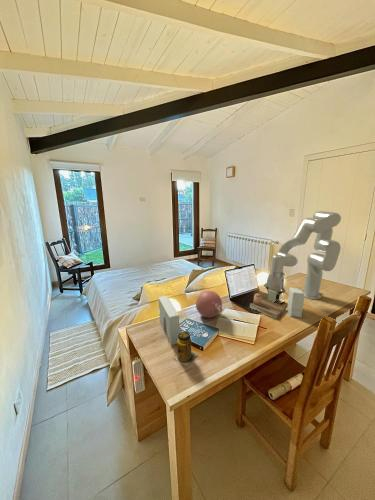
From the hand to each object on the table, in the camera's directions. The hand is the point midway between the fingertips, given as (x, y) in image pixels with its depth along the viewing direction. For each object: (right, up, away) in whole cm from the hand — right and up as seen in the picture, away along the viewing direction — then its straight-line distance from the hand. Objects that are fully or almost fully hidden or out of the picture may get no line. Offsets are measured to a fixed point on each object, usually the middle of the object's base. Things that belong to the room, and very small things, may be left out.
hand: (273, 297), depth 145 cm
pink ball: (-45, -7, -20) cm, 50 cm away
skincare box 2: (+6, -6, -15) cm, 18 cm away
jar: (-14, -2, -9) cm, 17 cm away
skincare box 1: (-69, -11, -33) cm, 77 cm away
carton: (0, -2, +1) cm, 2 cm away
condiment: (-60, -15, -50) cm, 79 cm away
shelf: (-8, -5, -10) cm, 14 cm away
